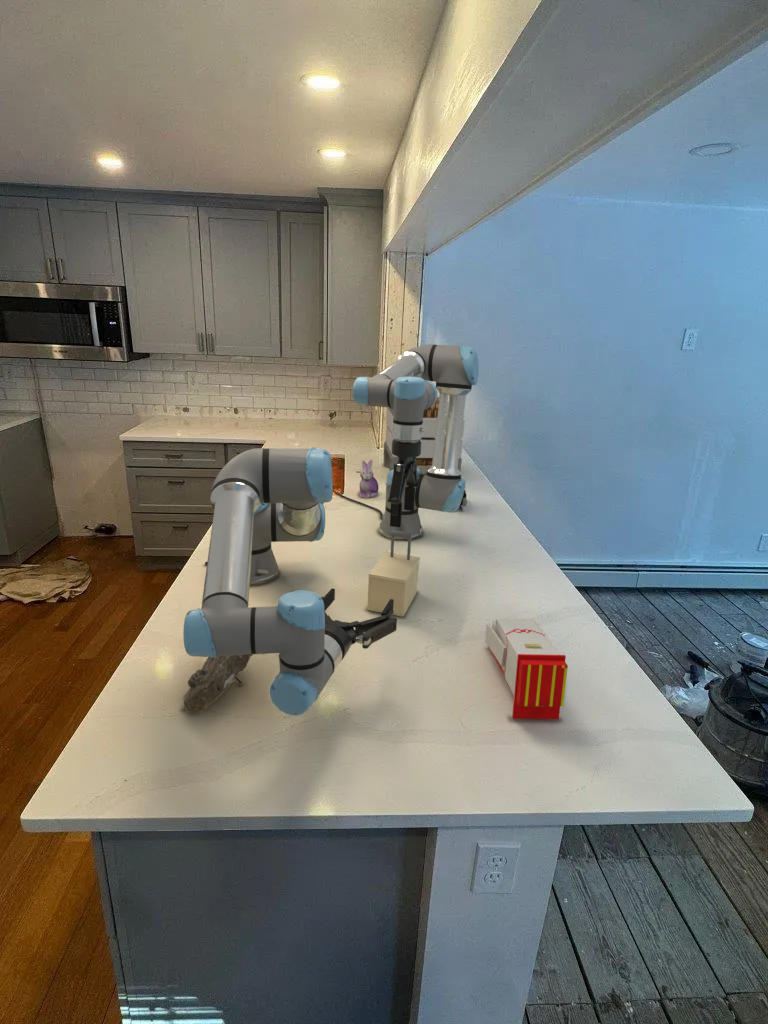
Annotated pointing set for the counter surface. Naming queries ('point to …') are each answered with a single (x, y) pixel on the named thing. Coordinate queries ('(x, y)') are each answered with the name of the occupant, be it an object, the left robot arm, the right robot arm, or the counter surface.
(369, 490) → the figurine
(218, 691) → the fossil
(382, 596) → the chest
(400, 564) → the lid
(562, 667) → the toy
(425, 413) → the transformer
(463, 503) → the figurine character
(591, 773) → the counter surface
